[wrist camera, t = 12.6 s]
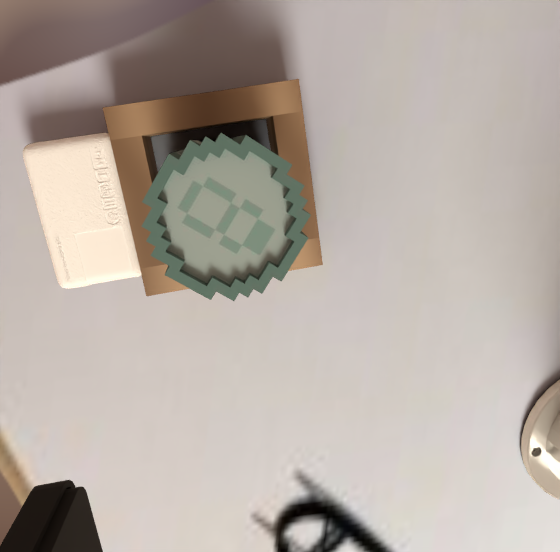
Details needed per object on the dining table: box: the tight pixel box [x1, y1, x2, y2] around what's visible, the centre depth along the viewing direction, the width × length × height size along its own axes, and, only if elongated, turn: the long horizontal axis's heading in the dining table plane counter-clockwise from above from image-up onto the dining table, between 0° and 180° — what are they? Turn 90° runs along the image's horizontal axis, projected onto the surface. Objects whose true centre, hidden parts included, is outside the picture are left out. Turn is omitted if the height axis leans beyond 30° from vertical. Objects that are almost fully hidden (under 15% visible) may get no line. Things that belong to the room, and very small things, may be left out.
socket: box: [103, 79, 323, 296], centre depth 31 cm, size 11×11×4 cm
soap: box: [23, 133, 141, 289], centre depth 32 cm, size 9×6×3 cm, turn 8°
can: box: [141, 133, 311, 301], centre depth 26 cm, size 6×6×15 cm
